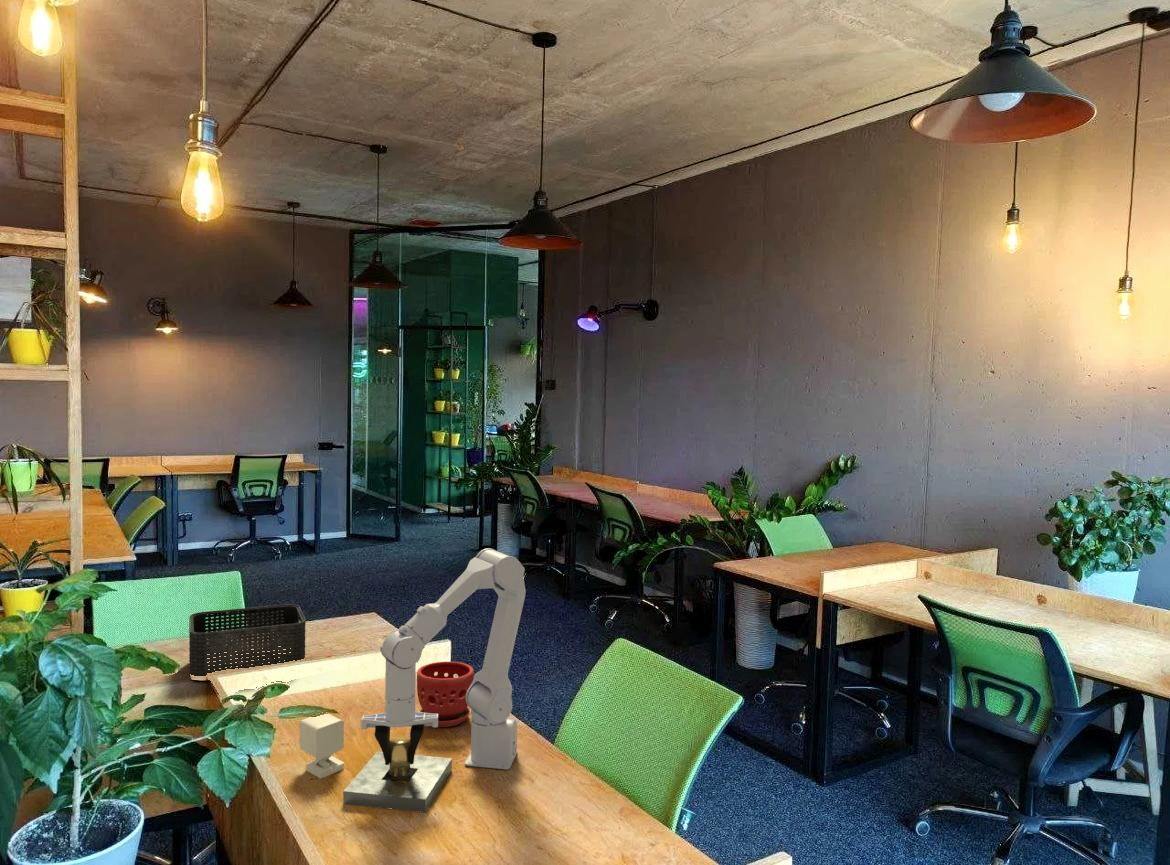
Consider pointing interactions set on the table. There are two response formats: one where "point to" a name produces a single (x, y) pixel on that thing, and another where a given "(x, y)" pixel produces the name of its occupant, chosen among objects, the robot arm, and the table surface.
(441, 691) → the plant pot
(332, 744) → the security camera
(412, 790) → the jig plate
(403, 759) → the cylinder
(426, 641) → the robot arm
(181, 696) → the table surface
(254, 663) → the storage bin
